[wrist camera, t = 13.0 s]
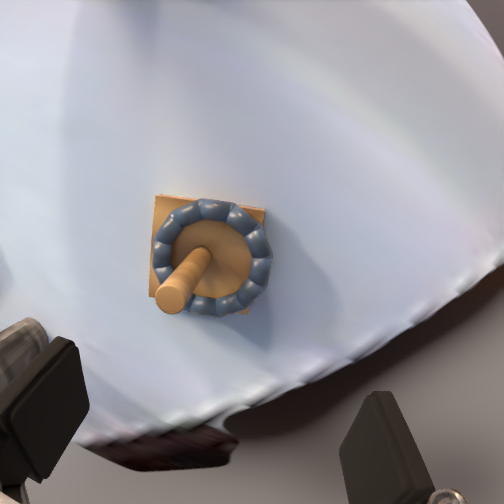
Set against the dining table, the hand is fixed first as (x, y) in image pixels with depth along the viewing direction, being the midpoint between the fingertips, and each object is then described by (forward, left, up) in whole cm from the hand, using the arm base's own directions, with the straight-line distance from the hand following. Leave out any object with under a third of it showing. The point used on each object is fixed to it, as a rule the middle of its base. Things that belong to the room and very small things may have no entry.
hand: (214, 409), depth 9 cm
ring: (0, -3, -16) cm, 17 cm away
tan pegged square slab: (0, -4, -18) cm, 19 cm away
